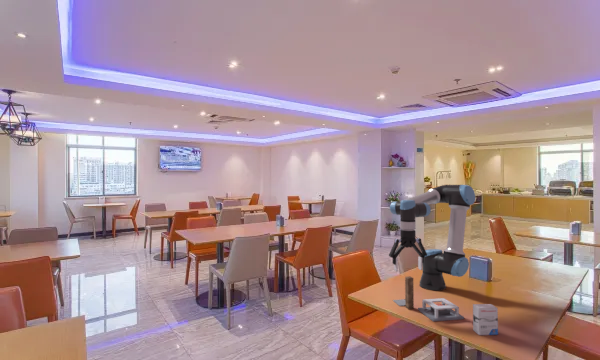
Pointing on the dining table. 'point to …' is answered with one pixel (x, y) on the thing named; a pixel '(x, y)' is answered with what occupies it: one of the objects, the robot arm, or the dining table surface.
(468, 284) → the dining table surface
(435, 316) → the white open frame stand
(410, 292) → the walnut rod
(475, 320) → the ink box
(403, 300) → the mat
